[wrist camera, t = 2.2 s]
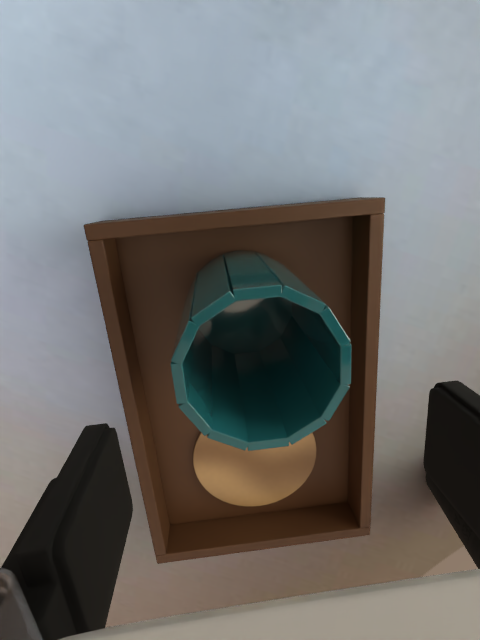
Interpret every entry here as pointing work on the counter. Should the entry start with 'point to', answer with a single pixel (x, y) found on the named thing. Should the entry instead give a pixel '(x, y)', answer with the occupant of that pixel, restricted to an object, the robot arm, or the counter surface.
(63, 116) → the counter surface
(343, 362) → the cup
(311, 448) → the coaster
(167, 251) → the tray
